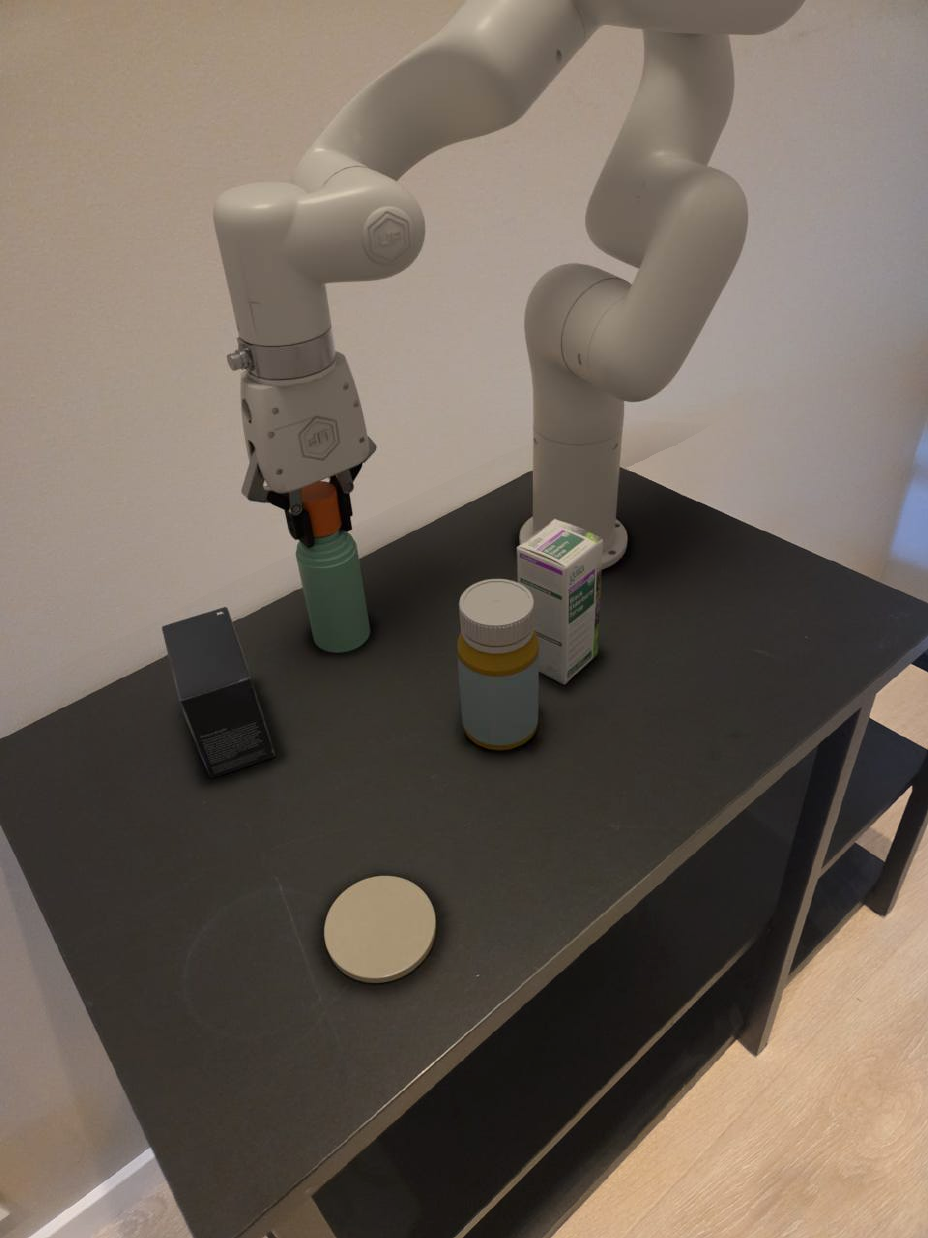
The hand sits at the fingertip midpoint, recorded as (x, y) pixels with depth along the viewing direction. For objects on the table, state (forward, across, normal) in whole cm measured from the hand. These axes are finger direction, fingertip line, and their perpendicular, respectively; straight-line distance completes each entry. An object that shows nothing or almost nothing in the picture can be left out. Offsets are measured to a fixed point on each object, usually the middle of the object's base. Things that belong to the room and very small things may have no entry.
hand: (322, 531), depth 84 cm
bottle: (+13, +5, -21) cm, 25 cm away
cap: (-1, 0, 0) cm, 1 cm away
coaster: (+13, -15, -31) cm, 37 cm away
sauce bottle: (+13, 0, 0) cm, 13 cm away
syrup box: (+13, +15, -18) cm, 27 cm away
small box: (+13, -15, -5) cm, 21 cm away
